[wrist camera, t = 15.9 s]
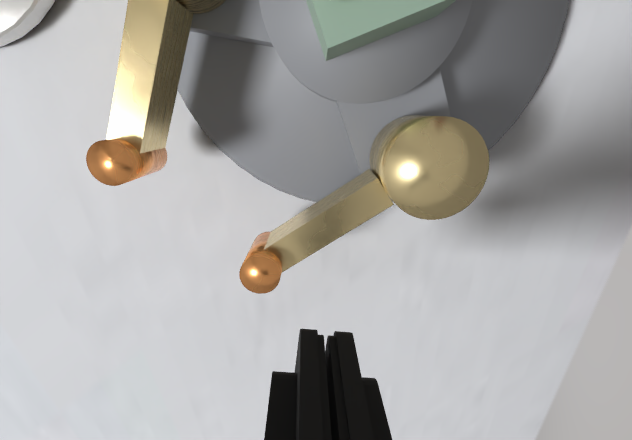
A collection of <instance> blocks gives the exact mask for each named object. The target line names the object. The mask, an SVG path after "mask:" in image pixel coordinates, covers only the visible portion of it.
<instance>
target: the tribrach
mask: <svg viewBox="0 0 632 440" xmlns="http://www.w3.org/2000/svg"><path fill="white" fill-rule="evenodd" d="M568 5H569V0H226V1H225V2H224V3H223V4H221V5H220V6H219V7H217V8H216V9H214V10H212V11H210V12H206V13H201V14H193V18H192V23H191V28H190V32H189V37H188V42H187V46H186V51H185V56H184V61H183V65H182V70H181V75H180V80H179V84H178V91H179V93H180V95H181V97H182V99H183V100H184V102H185V104H186V106H187V108H188V109H189V111H190V112H191V114H192V115H193V117H194V118H195V119H196V121H197V122H198V124H199V125H200V127H201V128H202V129H203V131H204V132H205V133H206V134H207V135H208V136H209V137H210V139H211V140H212V141H213V142H214V143H215V144H216V145H217V146H218V148H219V149H220V150H221V151H223V152H224V153H225V154H226V155H227V156H228V157H229V158H230V159H231V160H233V161H234V162H235V163H236V164H237V165H238V166H240V167H241V168H243V169H244V170H245V171H247V172H248V173H250V174H251V175H253V176H254V177H256V178H257V179H258V180H260V181H262V182H264V183H266V184H268V185H270V186H272V187H274V188H276V189H278V190H280V191H282V192H285V193H288V194H290V195H293V196H296V197H299V198H301V199H306V200H310V201H314V202H318V201H320V200H321V199H323V198H324V197H326V196H327V195H329V194H331V193H332V192H334V191H335V190H337V189H338V188H340V187H342V186H343V185H345V184H346V183H348V182H349V181H351V180H352V179H354V178H356V177H357V176H359V175H360V174H362V173H363V172H365V171H367V170H368V169H370V170H371V168H370V160H369V159H370V150H371V147H372V144H373V142H374V139H375V138H376V136H377V134H378V133H379V132H380V131H381V130H382V129H383V128H384V127H385V126H386V125H387V124H388V123H390V122H392V121H393V120H395V119H398V118H400V117H404V116H447V117H454V118H457V119H460V120H463V121H465V122H467V123H468V124H470V125H471V126H473V127H474V128H475V129H476V130H477V131H478V132H479V134H480V135H481V136H482V138H483V140H484V141H485V144H486V146H487V149H488V150H489V149H490V148H491V147H492V146H493V145H495V144H496V143H497V142H498V141H499V140H500V138H501V137H502V136H503V135H504V134H505V133H506V132H507V130H508V129H509V128H510V127H511V126H512V125H513V124H514V123H515V121H516V120H517V119H518V117H519V116H520V114H521V113H522V111H523V110H524V109H525V107H526V106H527V104H528V103H529V101H530V100H531V99H532V97H533V95H534V93H535V92H536V90H537V88H538V86H539V84H540V82H541V81H542V79H543V77H544V75H545V73H546V71H547V69H548V67H549V64H550V62H551V60H552V57H553V55H554V52H555V50H556V48H557V45H558V42H559V39H560V36H561V32H562V29H563V25H564V22H565V19H566V15H567V11H568ZM389 198H390V197H389ZM390 199H391V198H390ZM391 201H392V202H393V200H392V199H391Z"/></svg>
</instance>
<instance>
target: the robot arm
mask: <svg viewBox="0 0 632 440" xmlns="http://www.w3.org/2000/svg"><path fill="white" fill-rule="evenodd" d="M54 1H55V0H0V47H1V46H4V45H6V44H9V43H11V42H13V41H15V40H17V39H19V38H21V37H23V36H24V35H26V34H27V33H28V32H29V31H30V30H32V29H33V28H34V27H35V26H36V25H38V24H39V23H40V22H41V20H42V19H43V18H44V16H45V15H46V13H47V12H48V11H49V9H50V8H51V7H52V5H53V4H54ZM264 440H392V437H391V433H390V429H389V425H388V422H387V418H386V414H385V410H384V406H383V402H382V398H381V394H380V390H379V386H378V383H377V381H376V379H375V378H362V377H361V373H360V368H359V363H358V358H357V353H356V348H355V343H354V338H353V334H352V333H350V332H336V331H335V332H334V336H328V338H327V344H326V350H325V347H324V336H323V335H318V333H317V330H310V329H300V334H299V342H298V350H297V358H296V366H295V373H288V372H272V380H271V388H270V396H269V405H268V413H267V422H266V430H265V438H264Z"/></svg>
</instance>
